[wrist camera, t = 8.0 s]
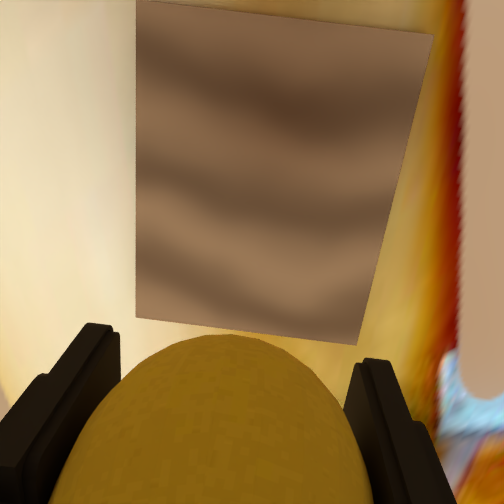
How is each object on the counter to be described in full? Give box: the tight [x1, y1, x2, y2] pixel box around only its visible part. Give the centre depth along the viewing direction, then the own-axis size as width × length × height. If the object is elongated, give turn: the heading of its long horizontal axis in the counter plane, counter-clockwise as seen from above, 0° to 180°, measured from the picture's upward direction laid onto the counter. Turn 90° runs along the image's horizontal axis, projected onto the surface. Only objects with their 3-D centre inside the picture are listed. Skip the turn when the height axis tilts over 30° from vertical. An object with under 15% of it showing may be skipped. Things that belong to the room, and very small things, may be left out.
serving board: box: [136, 0, 434, 345], centre depth 27 cm, size 20×16×2 cm
